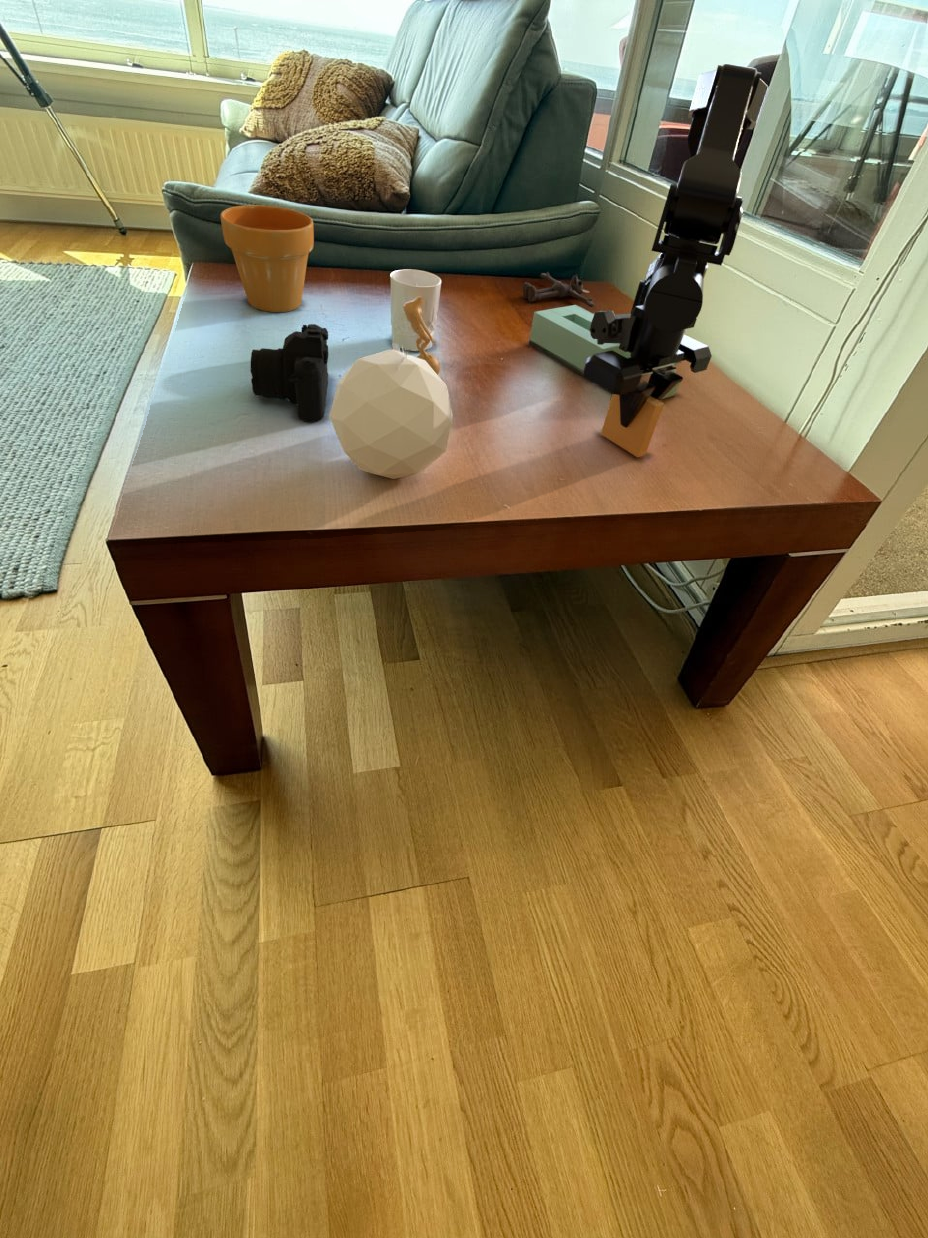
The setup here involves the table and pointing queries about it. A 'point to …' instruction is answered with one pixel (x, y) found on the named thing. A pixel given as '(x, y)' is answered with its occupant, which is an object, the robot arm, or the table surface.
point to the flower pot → (269, 253)
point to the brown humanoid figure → (557, 290)
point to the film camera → (295, 372)
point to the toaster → (567, 336)
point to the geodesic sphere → (392, 414)
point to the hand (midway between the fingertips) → (629, 424)
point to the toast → (632, 426)
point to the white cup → (408, 289)
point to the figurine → (421, 331)
